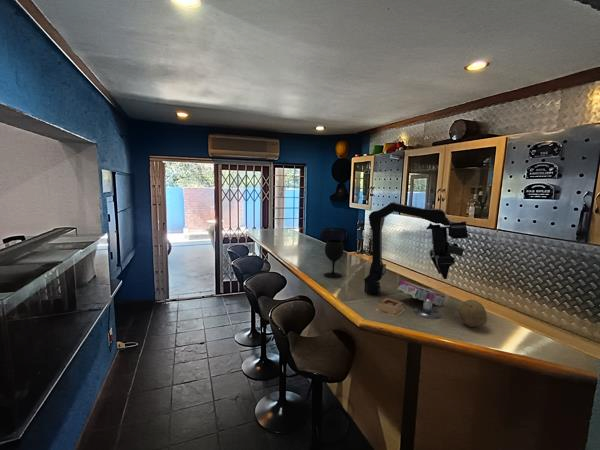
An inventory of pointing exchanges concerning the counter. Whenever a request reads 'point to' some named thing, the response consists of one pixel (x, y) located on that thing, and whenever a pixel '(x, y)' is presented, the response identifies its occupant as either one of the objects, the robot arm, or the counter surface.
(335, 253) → the wine glass
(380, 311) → the stand
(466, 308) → the natural sponge
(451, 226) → the robot arm
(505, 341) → the counter surface
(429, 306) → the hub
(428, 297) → the candy bar box
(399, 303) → the wooden square frame
